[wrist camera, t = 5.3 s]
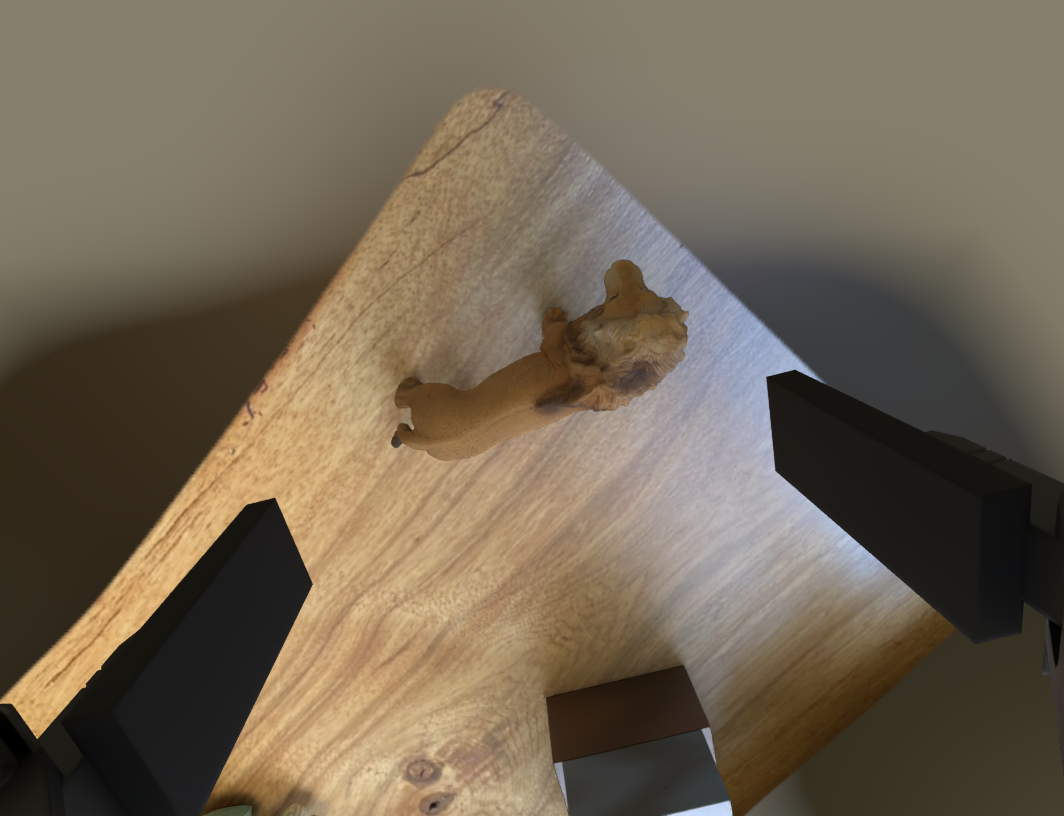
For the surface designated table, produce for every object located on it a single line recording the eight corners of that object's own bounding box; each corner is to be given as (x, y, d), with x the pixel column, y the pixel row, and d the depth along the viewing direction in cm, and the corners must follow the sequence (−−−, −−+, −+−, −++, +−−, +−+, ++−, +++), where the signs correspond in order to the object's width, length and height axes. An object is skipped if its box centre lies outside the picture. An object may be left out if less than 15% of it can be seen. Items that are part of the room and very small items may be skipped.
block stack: (684, 665, 35) (740, 797, 27) (706, 786, 39) (761, 934, 31) (545, 697, 35) (561, 838, 27) (580, 815, 39) (603, 971, 31)
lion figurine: (609, 237, 26) (663, 245, 18) (662, 329, 28) (736, 376, 20) (364, 403, 28) (308, 482, 20) (427, 481, 30) (400, 584, 21)
